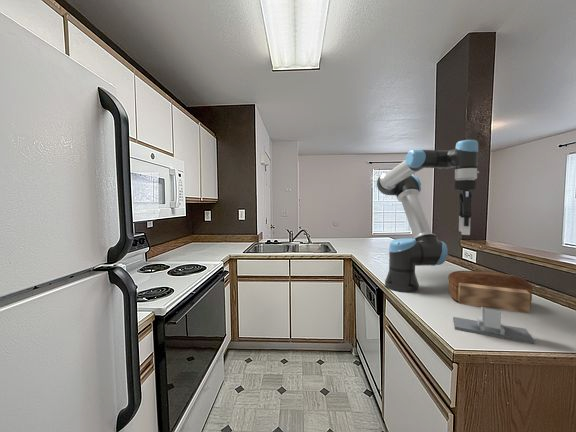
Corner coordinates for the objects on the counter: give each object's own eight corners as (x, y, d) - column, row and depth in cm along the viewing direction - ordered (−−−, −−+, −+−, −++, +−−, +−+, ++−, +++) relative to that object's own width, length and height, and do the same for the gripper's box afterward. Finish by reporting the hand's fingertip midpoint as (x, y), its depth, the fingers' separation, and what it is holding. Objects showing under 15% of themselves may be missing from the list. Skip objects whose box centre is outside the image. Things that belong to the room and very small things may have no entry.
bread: (444, 293, 128) (445, 266, 127) (519, 300, 119) (520, 271, 119) (452, 303, 115) (453, 274, 114) (536, 312, 106) (538, 280, 105)
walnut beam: (459, 303, 92) (459, 285, 92) (458, 299, 96) (458, 282, 96) (529, 313, 84) (530, 293, 84) (525, 309, 88) (526, 290, 88)
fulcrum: (454, 329, 91) (455, 305, 91) (453, 319, 99) (453, 297, 99) (534, 343, 82) (535, 317, 82) (525, 331, 90) (526, 307, 90)
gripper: (481, 177, 100) (479, 236, 100) (473, 181, 122) (471, 230, 123) (457, 177, 103) (455, 235, 104) (453, 182, 125) (451, 230, 126)
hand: (464, 233), depth 113 cm, fingers open, 13 cm apart
